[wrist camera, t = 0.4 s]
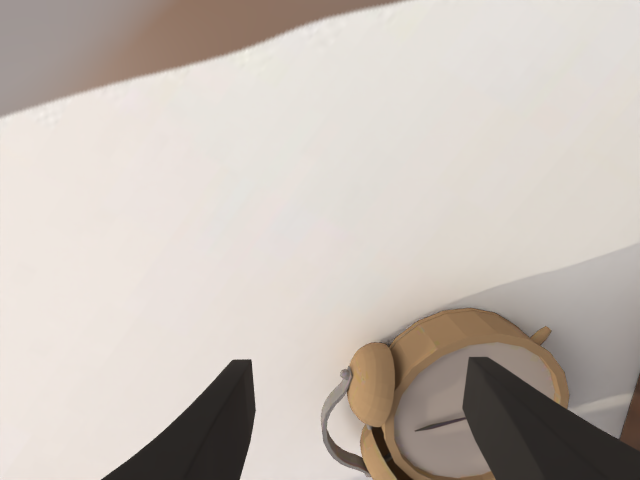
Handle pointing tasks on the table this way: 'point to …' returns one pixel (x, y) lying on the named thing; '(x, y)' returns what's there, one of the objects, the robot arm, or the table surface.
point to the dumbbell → (633, 421)
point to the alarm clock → (433, 394)
